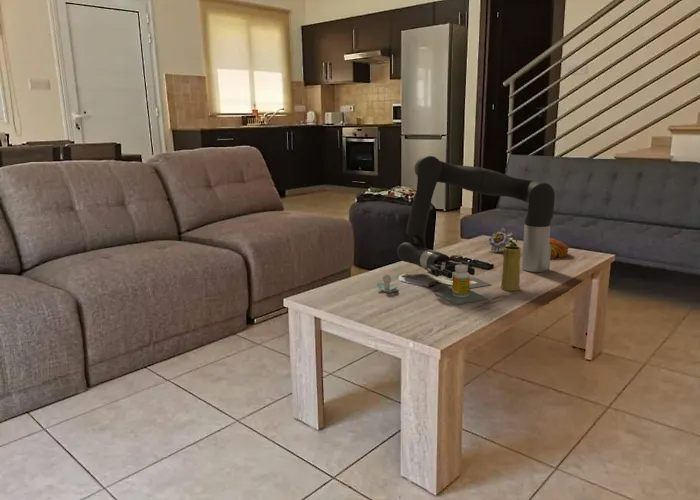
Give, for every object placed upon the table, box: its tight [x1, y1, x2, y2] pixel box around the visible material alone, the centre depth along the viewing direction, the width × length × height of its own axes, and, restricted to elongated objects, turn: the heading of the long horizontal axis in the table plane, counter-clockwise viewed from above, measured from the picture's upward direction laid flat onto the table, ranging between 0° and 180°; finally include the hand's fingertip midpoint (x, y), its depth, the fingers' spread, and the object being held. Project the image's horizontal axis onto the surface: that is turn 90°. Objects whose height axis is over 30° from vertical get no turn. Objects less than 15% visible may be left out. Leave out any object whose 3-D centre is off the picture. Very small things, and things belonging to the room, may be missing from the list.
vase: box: [500, 245, 521, 292], centre depth 183 cm, size 6×6×14 cm
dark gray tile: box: [469, 276, 492, 290], centre depth 191 cm, size 10×10×1 cm
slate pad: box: [434, 289, 488, 306], centre depth 176 cm, size 12×12×1 cm
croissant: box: [549, 237, 569, 259], centre depth 228 cm, size 14×16×8 cm
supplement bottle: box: [451, 265, 471, 297], centre depth 175 cm, size 5×5×10 cm
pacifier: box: [376, 273, 399, 293], centre depth 184 cm, size 7×6×6 cm
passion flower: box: [484, 227, 518, 254], centre depth 235 cm, size 11×11×12 cm
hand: (462, 273), depth 174 cm, fingers open, 8 cm apart
